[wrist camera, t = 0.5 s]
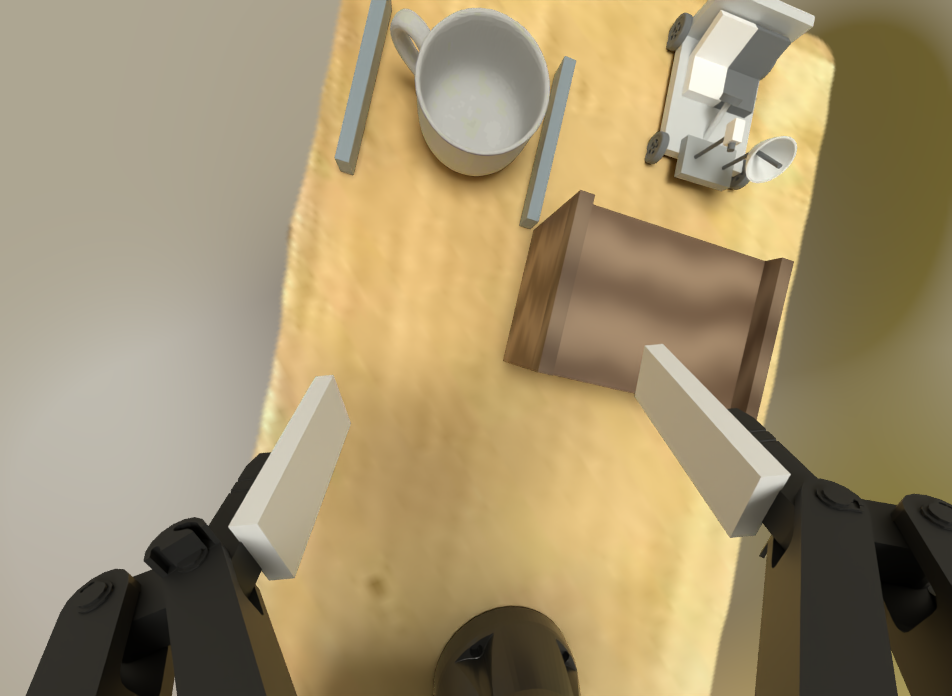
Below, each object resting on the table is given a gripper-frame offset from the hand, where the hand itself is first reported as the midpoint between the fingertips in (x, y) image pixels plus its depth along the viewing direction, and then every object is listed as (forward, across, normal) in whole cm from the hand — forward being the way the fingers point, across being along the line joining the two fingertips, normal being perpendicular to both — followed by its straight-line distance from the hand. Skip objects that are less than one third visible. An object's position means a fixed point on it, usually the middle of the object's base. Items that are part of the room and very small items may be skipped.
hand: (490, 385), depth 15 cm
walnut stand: (+22, -14, +9) cm, 27 cm away
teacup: (+29, 0, -10) cm, 31 cm away
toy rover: (+34, -27, -8) cm, 44 cm away
